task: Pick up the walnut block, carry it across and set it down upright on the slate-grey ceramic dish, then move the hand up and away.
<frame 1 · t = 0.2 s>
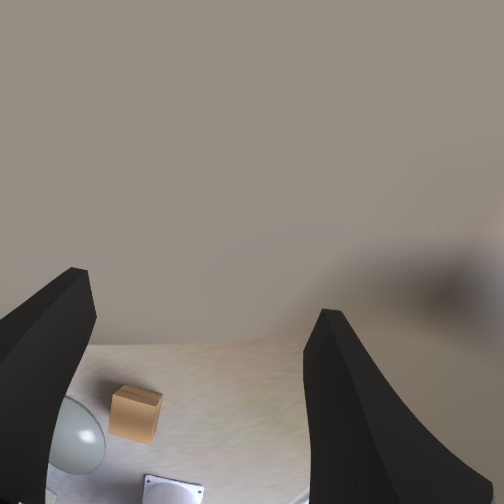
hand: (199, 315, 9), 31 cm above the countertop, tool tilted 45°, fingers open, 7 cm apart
slate dish: (66, 435, 33), on the countertop
small box: (33, 490, 29), on the countertop
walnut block: (140, 406, 36), on the countertop
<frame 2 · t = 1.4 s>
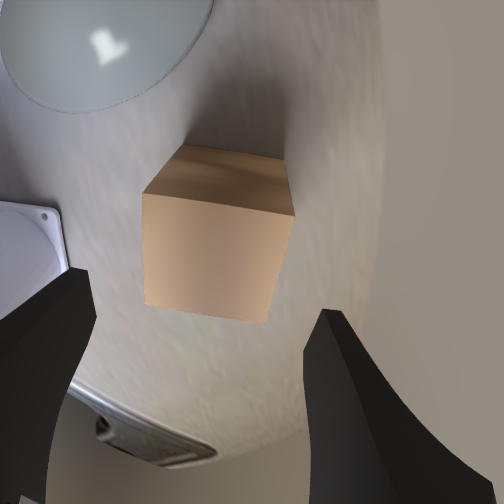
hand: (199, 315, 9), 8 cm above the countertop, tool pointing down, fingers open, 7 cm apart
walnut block: (225, 196, 16), on the countertop
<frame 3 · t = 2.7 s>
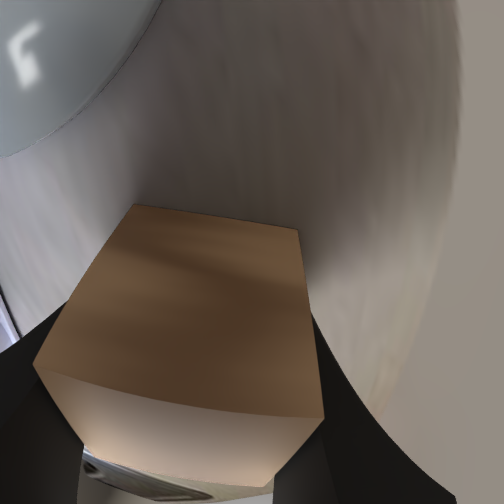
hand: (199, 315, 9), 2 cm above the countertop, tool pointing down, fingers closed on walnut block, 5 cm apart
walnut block: (206, 281, 11), on the countertop, touching gripper
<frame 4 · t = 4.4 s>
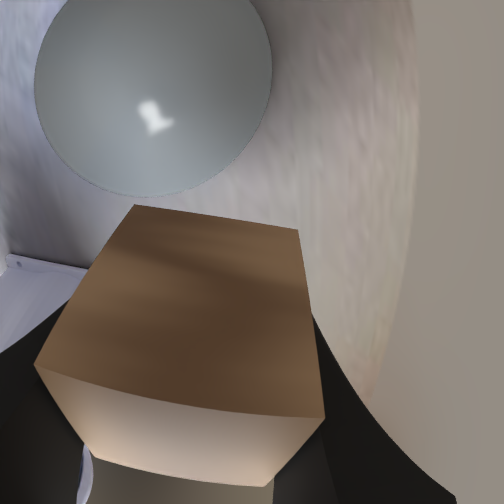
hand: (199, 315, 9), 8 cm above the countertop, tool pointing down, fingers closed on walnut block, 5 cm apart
slate dish: (143, 76, 13), on the countertop
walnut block: (206, 281, 11), point 7 cm above the countertop, touching gripper
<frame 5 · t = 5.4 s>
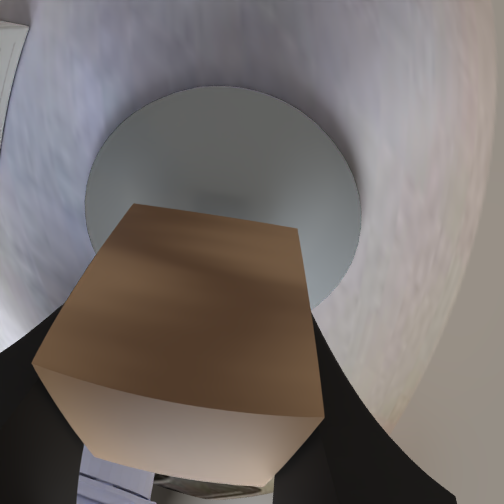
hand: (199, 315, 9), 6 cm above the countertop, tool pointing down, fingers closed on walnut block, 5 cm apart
slate dish: (219, 224, 14), on the countertop
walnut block: (206, 280, 11), point 4 cm above the countertop, touching gripper
when the fingers open (4 cm above the countertop, at t = 6.2 s): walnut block drops 1 cm, resting on slate dish.
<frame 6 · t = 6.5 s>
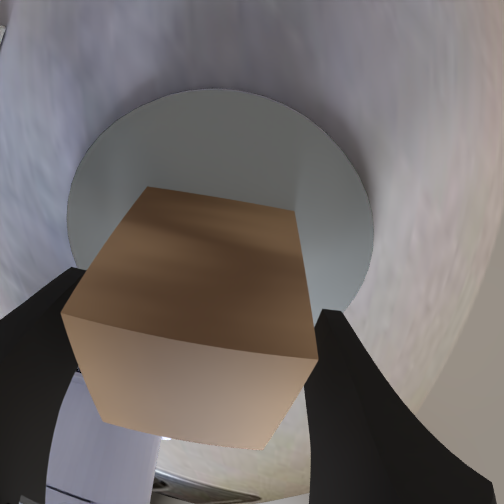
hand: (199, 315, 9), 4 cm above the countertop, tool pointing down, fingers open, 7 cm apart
slate dish: (214, 244, 13), on the countertop
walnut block: (211, 258, 12), point 1 cm above the countertop, touching slate dish
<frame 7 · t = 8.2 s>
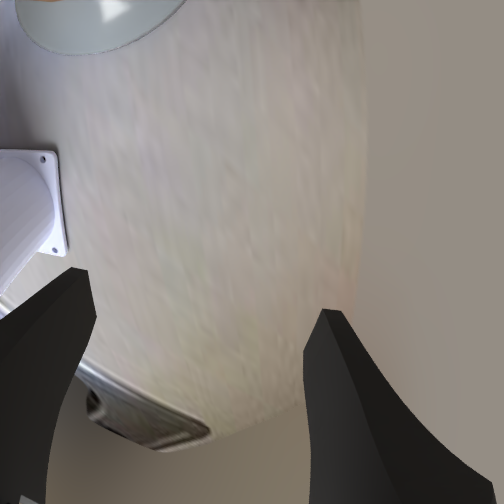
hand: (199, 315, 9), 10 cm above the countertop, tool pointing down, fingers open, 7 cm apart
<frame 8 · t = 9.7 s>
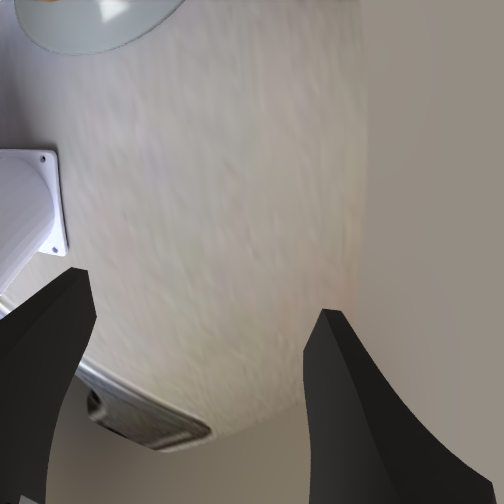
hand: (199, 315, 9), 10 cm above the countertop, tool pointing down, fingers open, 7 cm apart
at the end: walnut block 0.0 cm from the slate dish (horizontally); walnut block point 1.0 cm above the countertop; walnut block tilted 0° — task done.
